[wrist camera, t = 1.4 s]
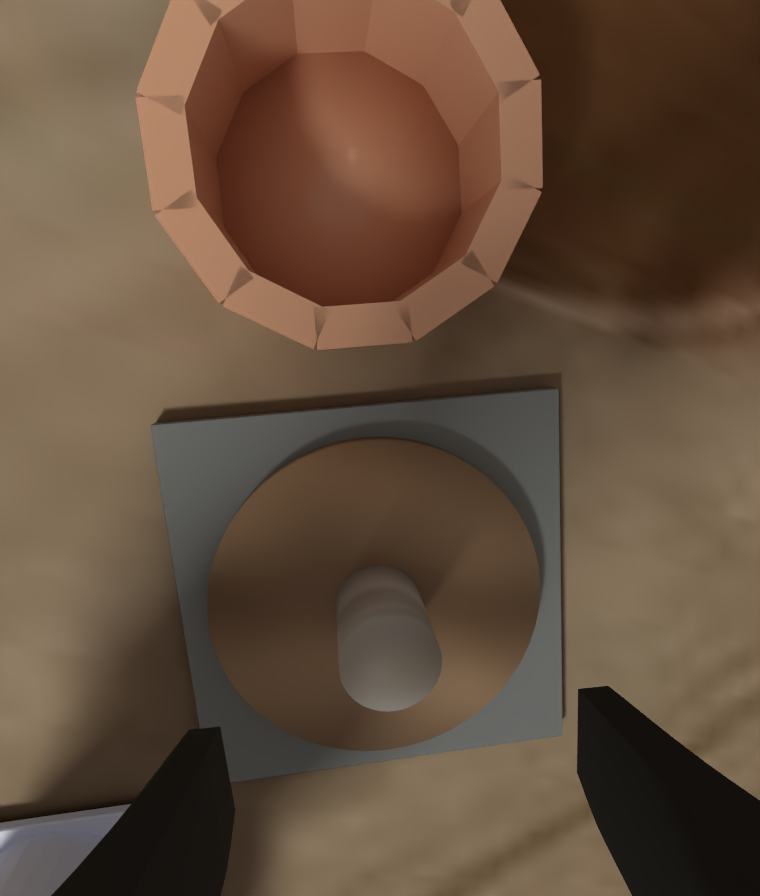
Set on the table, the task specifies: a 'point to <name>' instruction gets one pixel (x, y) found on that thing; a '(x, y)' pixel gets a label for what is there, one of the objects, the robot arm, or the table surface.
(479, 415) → the mat
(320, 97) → the bowl
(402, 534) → the lid
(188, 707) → the table surface
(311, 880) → the table surface
